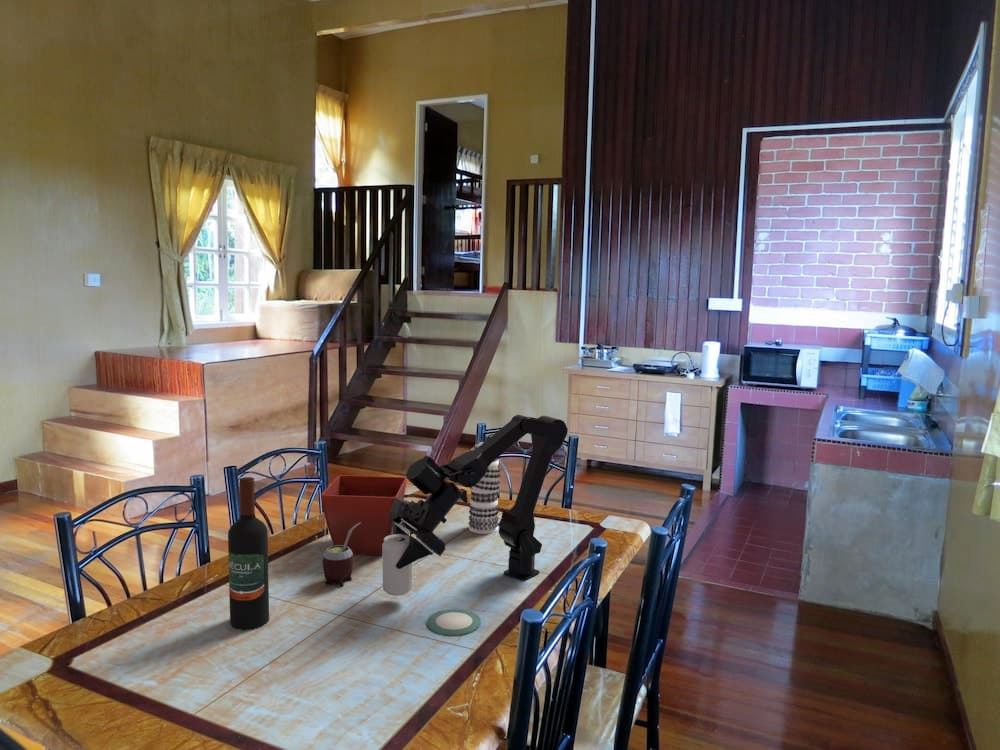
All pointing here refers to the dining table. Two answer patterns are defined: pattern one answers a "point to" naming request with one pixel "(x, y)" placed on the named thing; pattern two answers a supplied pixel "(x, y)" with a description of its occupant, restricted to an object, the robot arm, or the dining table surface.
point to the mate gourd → (338, 562)
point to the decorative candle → (485, 501)
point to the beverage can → (392, 576)
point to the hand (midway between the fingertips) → (391, 563)
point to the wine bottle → (248, 564)
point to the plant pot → (361, 510)
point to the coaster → (453, 622)
